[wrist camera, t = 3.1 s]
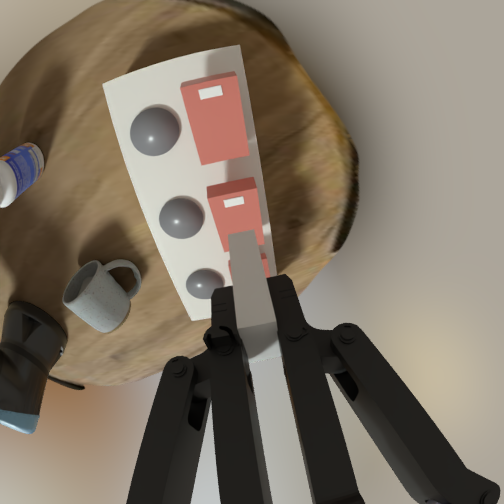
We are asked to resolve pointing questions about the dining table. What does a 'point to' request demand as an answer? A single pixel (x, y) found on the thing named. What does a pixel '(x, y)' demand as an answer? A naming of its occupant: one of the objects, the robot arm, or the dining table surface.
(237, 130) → the block
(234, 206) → the block
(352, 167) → the dining table surface
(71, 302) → the ceramic mug
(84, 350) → the dining table surface
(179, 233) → the switch panel
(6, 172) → the pill bottle
